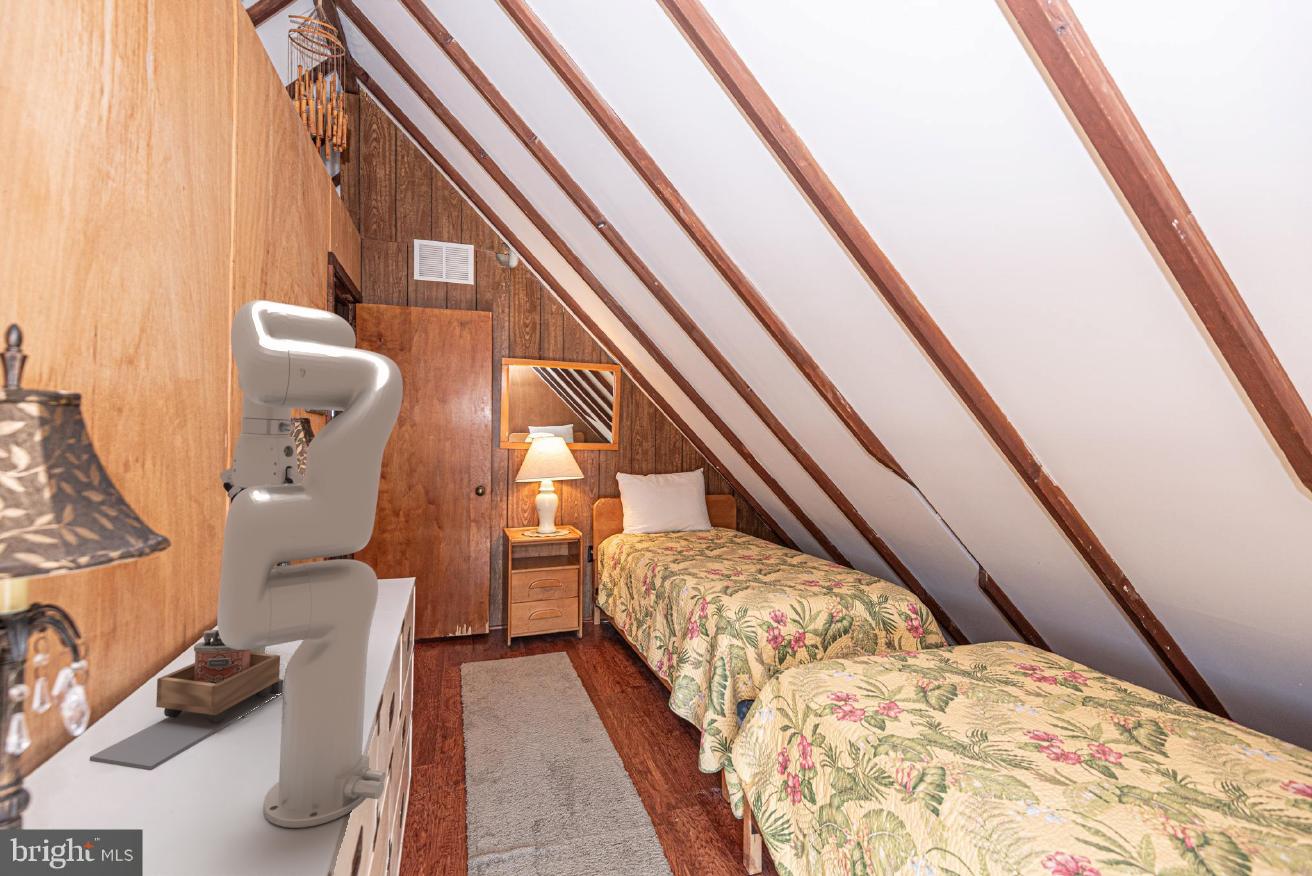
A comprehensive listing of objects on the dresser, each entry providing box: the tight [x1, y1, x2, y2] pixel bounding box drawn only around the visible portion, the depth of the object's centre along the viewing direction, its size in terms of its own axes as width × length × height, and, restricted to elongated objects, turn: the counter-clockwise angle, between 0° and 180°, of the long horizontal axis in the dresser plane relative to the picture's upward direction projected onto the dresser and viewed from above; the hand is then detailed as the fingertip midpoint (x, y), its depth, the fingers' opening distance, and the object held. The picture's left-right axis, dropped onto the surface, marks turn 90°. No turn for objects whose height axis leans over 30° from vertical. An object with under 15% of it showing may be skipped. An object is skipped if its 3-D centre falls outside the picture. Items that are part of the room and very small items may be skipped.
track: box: [89, 678, 284, 771], centre depth 92 cm, size 10×24×2 cm, turn 172°
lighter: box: [193, 629, 251, 684], centre depth 96 cm, size 8×3×10 cm, turn 107°
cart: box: [155, 652, 281, 724], centre depth 96 cm, size 11×13×7 cm
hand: (262, 520), depth 106 cm, fingers open, 9 cm apart
